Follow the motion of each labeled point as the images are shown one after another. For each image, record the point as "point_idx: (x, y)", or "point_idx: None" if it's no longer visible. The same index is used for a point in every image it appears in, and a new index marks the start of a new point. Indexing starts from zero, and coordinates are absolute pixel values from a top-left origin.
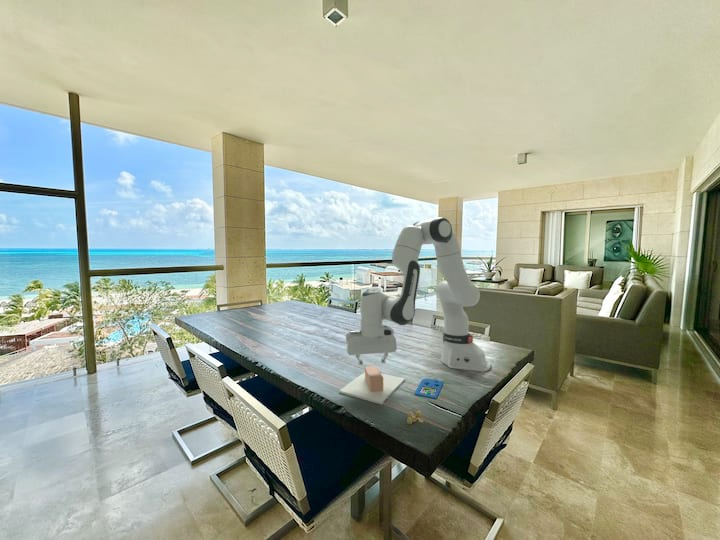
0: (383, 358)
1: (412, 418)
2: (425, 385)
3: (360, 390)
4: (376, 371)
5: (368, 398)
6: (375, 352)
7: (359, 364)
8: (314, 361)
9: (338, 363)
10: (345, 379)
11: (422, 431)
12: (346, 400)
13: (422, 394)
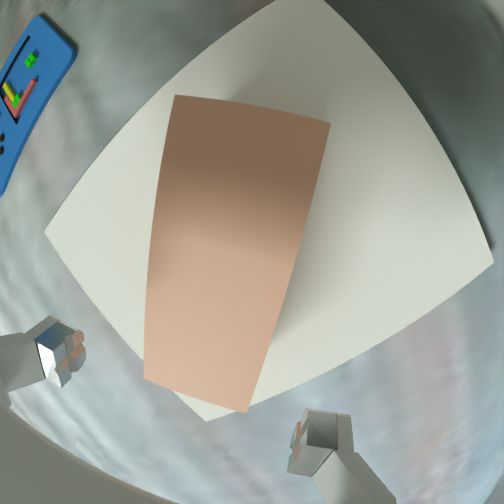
0: (38, 358)
1: None
2: (7, 129)
3: (383, 193)
4: (178, 281)
5: (375, 55)
6: (53, 458)
7: (346, 416)
8: None
9: (301, 500)
10: (368, 395)
11: None
12: (490, 143)
13: (53, 41)
